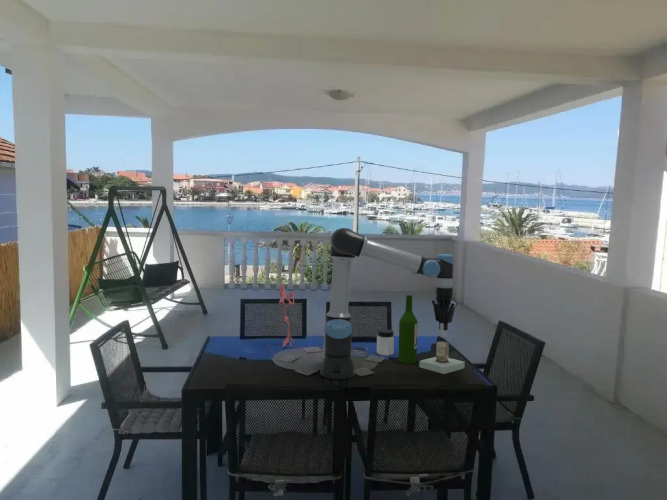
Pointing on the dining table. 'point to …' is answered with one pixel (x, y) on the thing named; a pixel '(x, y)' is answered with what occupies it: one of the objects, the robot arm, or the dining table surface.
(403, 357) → the wine bottle
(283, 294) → the figurine
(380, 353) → the jar
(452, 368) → the plinth
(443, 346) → the peg
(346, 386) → the dining table surface
